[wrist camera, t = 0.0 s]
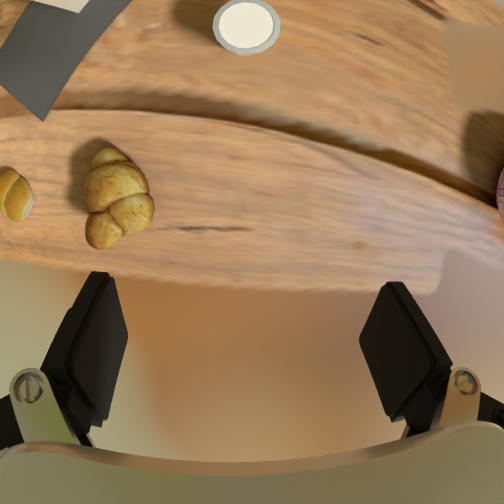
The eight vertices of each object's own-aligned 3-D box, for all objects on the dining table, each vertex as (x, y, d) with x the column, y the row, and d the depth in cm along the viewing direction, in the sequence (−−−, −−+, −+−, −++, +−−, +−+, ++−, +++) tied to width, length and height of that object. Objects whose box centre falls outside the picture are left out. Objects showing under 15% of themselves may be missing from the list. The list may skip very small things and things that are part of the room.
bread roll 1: (6, 160, 33) (-8, 168, 30) (40, 188, 37) (27, 198, 34) (-5, 198, 36) (-18, 207, 33) (27, 224, 40) (15, 236, 37)
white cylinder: (218, 62, 31) (215, 57, 25) (213, 14, 27) (209, 0, 21) (274, 58, 31) (283, 52, 25) (269, 10, 27) (277, -5, 21)
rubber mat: (70, -44, 17) (68, -45, 17) (138, -6, 24) (136, -7, 23) (-10, 73, 25) (-12, 74, 24) (44, 120, 31) (41, 121, 31)
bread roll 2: (87, 148, 35) (60, 165, 28) (150, 138, 35) (132, 152, 29) (104, 228, 42) (84, 257, 35) (162, 224, 42) (150, 254, 36)
